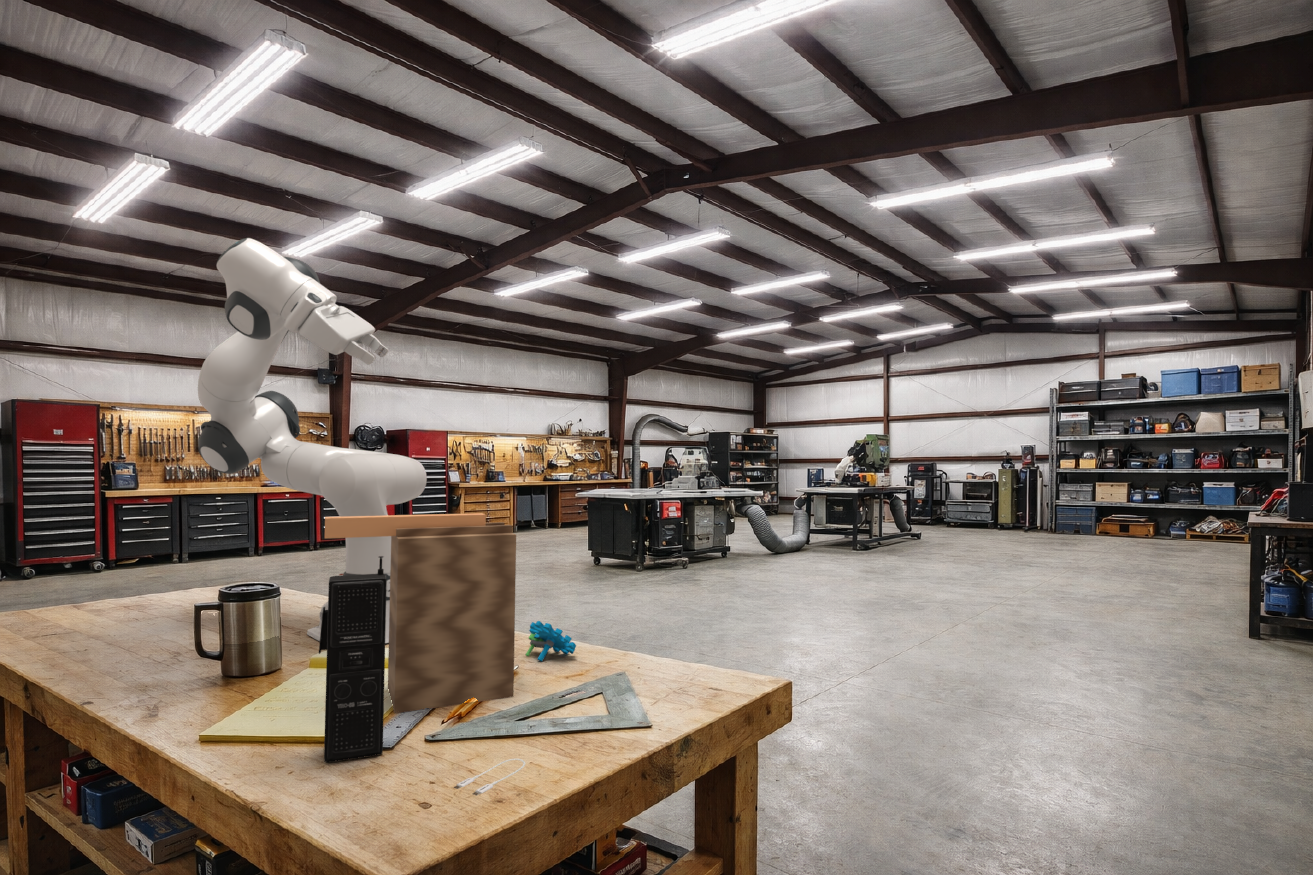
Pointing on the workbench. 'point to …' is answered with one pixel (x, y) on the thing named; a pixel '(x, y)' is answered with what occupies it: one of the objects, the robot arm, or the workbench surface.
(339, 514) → the robot arm
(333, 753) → the portable radio
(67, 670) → the workbench surface
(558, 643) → the blue toy creature
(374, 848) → the workbench surface
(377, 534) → the batten
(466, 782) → the electronic cable
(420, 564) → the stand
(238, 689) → the workbench surface
